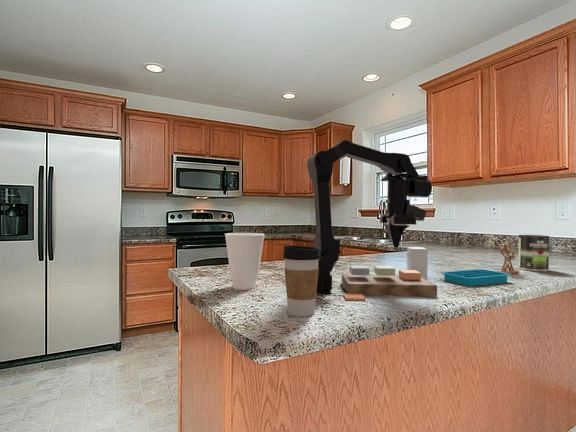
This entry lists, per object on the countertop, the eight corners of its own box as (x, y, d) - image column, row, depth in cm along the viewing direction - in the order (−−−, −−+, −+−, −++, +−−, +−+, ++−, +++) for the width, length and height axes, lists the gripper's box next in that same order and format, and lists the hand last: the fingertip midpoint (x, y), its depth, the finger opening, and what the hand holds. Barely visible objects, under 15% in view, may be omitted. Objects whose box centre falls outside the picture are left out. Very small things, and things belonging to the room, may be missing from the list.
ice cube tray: (439, 280, 115) (439, 272, 115) (480, 277, 122) (481, 268, 122) (468, 288, 104) (469, 278, 104) (512, 283, 111) (512, 274, 111)
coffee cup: (281, 307, 79) (281, 244, 79) (316, 307, 80) (317, 244, 80) (283, 319, 71) (284, 247, 71) (323, 318, 71) (323, 247, 71)
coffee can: (554, 272, 133) (555, 236, 133) (526, 271, 134) (526, 235, 134) (539, 267, 143) (540, 234, 143) (513, 267, 145) (513, 234, 144)
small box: (427, 280, 114) (427, 249, 114) (410, 279, 115) (410, 248, 115) (423, 275, 122) (423, 246, 122) (406, 275, 123) (407, 246, 123)
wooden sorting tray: (348, 294, 92) (348, 283, 92) (341, 283, 107) (341, 274, 107) (436, 296, 91) (437, 285, 91) (417, 284, 106) (417, 275, 106)
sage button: (377, 275, 98) (377, 268, 98) (374, 272, 103) (374, 265, 103) (395, 275, 98) (395, 268, 98) (390, 272, 103) (390, 266, 103)
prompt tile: (345, 300, 86) (345, 298, 86) (343, 295, 91) (343, 293, 91) (365, 300, 86) (365, 298, 86) (361, 295, 91) (361, 293, 91)
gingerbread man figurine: (509, 271, 132) (509, 241, 132) (519, 273, 129) (520, 242, 128) (495, 273, 128) (495, 242, 128) (505, 275, 124) (506, 243, 124)
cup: (259, 282, 108) (259, 232, 108) (268, 290, 97) (269, 234, 97) (221, 284, 105) (222, 232, 104) (227, 292, 93) (227, 235, 93)
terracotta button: (403, 279, 98) (403, 272, 98) (398, 276, 103) (398, 269, 103) (421, 279, 98) (421, 273, 98) (415, 276, 103) (415, 270, 103)
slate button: (352, 274, 99) (352, 268, 99) (349, 272, 104) (349, 265, 104) (369, 275, 98) (369, 268, 98) (365, 272, 103) (366, 265, 103)
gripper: (436, 195, 92) (434, 251, 93) (414, 198, 111) (413, 245, 111) (395, 194, 93) (393, 250, 93) (380, 197, 112) (379, 244, 112)
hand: (395, 247), depth 102 cm, fingers closed
